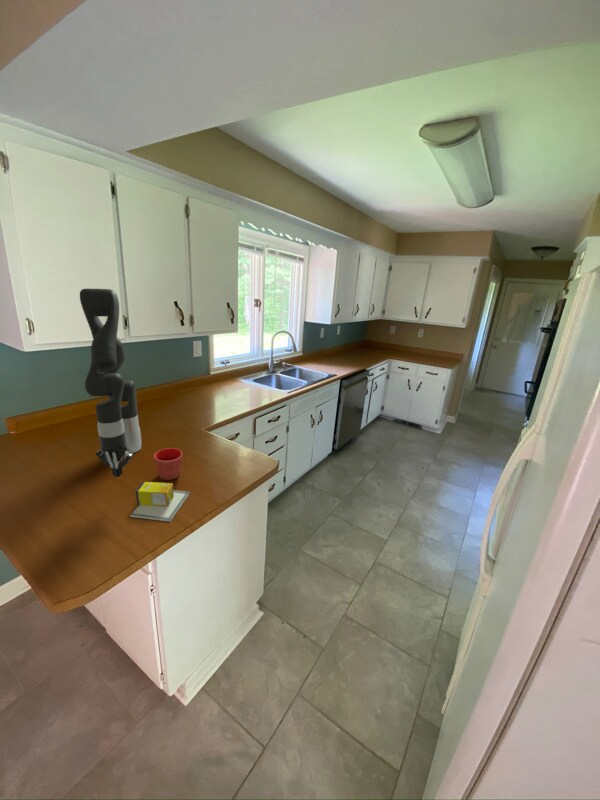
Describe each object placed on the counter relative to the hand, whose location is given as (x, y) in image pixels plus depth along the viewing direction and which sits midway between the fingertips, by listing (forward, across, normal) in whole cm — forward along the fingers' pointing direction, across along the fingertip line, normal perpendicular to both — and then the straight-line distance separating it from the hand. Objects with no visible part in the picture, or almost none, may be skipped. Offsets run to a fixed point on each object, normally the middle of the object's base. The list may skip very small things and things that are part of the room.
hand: (117, 475), depth 111 cm
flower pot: (+10, -9, -18) cm, 23 cm away
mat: (+10, -15, 0) cm, 18 cm away
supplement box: (+6, -7, 0) cm, 10 cm away
